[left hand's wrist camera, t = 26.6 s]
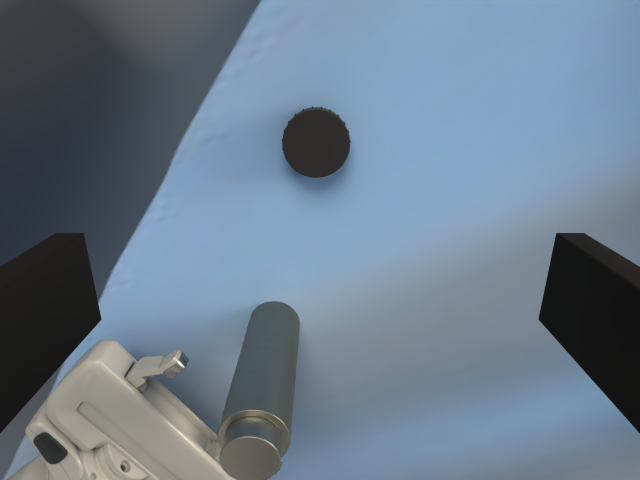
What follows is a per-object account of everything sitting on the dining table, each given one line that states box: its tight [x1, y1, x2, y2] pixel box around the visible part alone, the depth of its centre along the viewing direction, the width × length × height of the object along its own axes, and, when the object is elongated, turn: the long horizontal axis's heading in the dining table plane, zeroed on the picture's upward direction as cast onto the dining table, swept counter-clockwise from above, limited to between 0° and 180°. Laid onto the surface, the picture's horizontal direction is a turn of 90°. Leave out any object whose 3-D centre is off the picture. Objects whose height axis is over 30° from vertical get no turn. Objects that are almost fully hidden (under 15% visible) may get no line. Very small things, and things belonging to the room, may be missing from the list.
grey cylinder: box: [217, 302, 300, 480], centre depth 37 cm, size 5×5×17 cm
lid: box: [282, 107, 351, 177], centre depth 37 cm, size 6×6×2 cm
